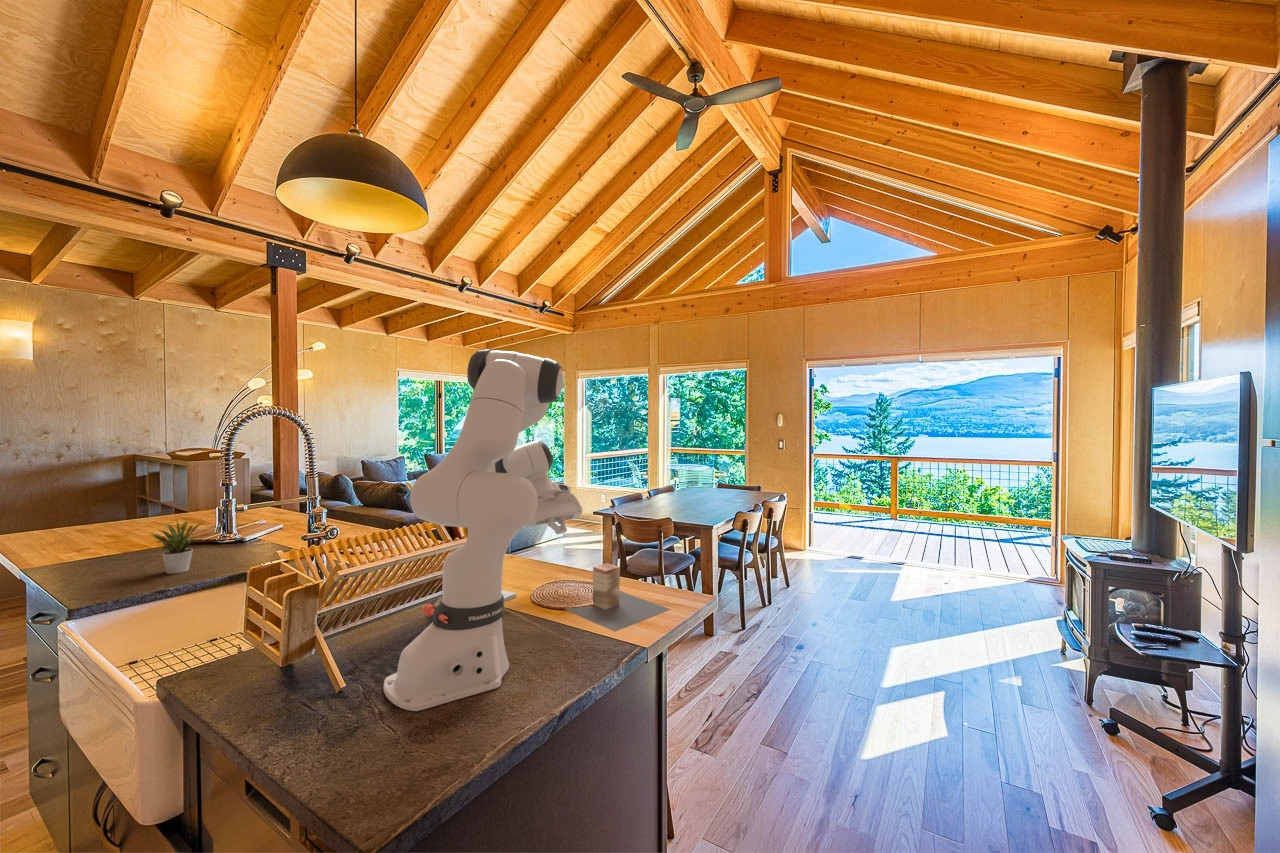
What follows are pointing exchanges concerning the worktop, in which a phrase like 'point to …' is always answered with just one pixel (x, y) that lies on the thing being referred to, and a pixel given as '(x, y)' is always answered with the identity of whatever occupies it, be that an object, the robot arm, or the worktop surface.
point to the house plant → (177, 548)
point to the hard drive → (508, 595)
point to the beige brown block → (606, 585)
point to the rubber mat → (620, 612)
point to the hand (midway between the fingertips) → (562, 532)
